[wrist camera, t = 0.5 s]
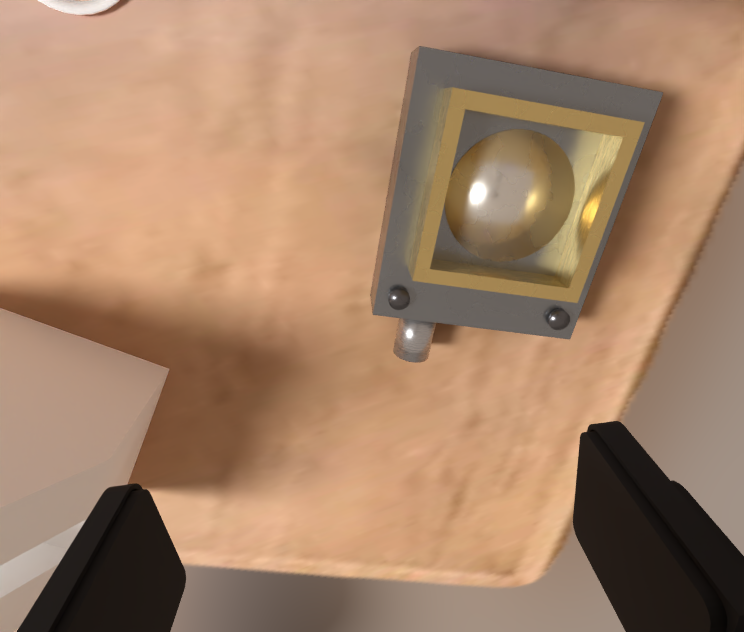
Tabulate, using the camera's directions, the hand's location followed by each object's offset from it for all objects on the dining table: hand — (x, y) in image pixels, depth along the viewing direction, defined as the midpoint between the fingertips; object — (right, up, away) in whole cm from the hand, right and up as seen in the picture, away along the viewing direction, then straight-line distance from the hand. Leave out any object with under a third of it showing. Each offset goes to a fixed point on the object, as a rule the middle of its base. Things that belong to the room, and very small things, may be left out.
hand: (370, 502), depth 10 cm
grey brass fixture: (+9, +11, +27) cm, 30 cm away
